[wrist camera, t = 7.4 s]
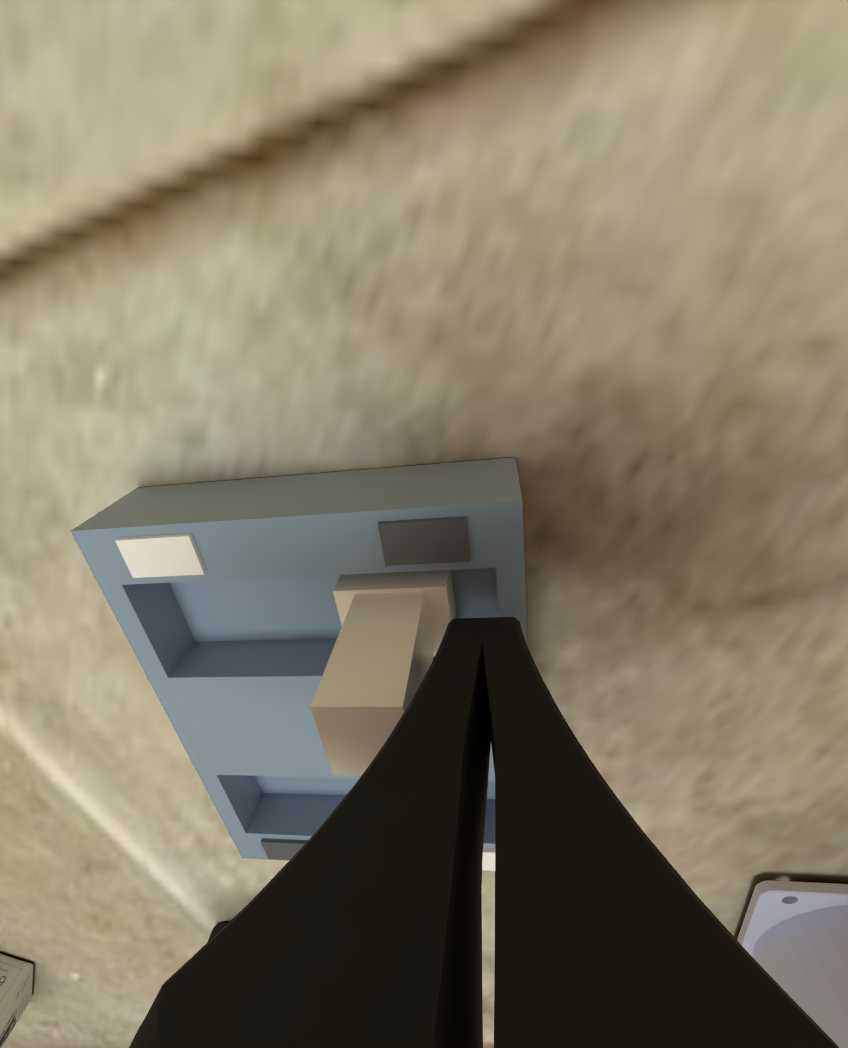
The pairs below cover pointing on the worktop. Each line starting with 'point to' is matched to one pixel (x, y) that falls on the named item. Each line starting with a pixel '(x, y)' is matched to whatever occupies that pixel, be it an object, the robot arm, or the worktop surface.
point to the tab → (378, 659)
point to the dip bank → (289, 612)
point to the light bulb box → (13, 992)
